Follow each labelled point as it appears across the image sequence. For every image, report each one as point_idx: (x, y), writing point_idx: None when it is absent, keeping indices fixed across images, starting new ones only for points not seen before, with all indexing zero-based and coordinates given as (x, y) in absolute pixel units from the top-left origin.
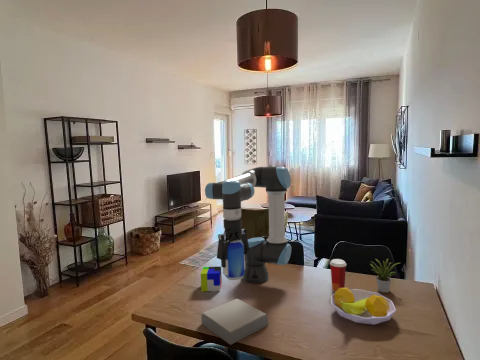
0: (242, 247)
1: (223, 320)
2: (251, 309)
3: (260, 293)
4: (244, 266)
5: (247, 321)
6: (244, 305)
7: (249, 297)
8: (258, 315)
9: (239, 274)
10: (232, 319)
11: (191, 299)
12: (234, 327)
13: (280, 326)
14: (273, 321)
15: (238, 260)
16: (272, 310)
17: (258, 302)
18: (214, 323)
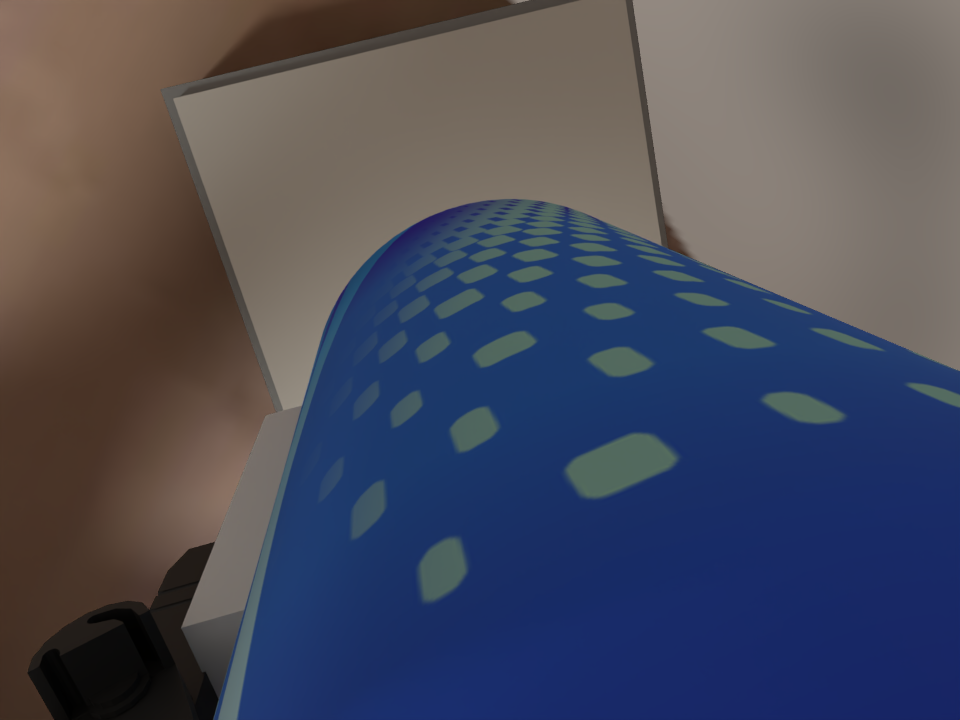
0: (420, 589)
1: (593, 196)
2: (274, 249)
3: (18, 607)
4: (271, 437)
5: (408, 61)
6: (306, 350)
7: (146, 581)
8: (258, 108)
9: (502, 204)
10: (516, 171)
11: None
12: (562, 30)
13: (81, 11)
14: (108, 122)
15: (606, 258)
16: (34, 296)
17: (103, 475)
18: (662, 214)
